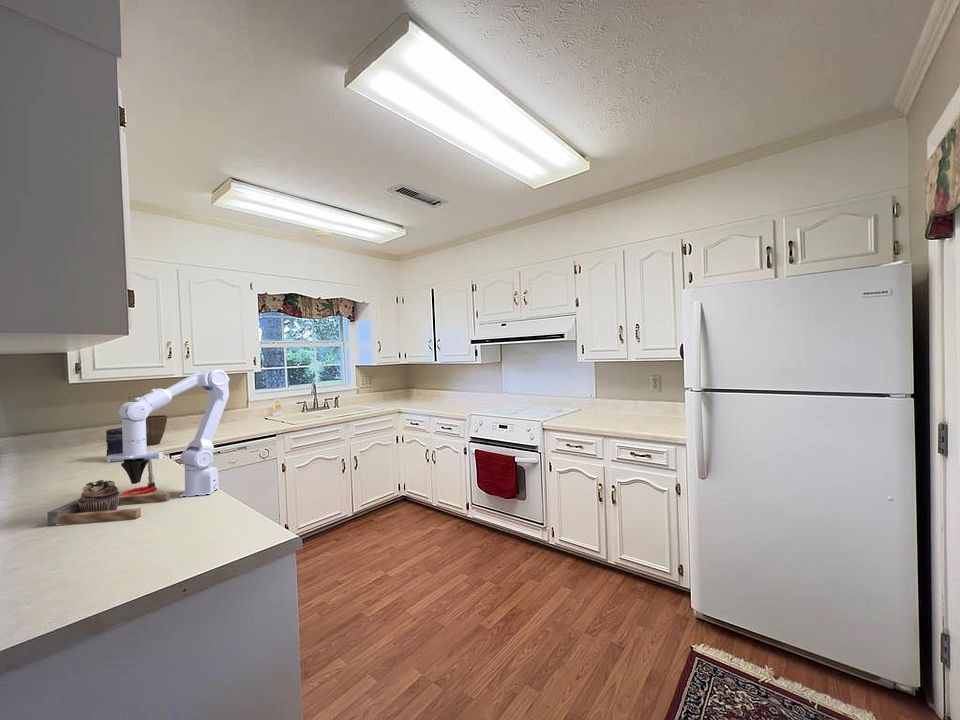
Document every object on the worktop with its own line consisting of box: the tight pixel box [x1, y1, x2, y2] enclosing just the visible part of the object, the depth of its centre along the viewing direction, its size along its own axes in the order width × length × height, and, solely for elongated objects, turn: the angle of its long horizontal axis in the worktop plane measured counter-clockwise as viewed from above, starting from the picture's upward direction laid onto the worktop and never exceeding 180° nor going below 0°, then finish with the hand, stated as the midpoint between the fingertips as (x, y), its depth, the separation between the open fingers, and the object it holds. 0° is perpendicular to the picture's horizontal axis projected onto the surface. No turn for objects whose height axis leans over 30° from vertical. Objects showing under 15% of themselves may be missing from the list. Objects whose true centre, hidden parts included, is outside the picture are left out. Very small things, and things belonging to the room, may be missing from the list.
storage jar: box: [105, 427, 123, 464], centre depth 196 cm, size 10×10×15 cm
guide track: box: [46, 491, 171, 526], centre depth 126 cm, size 22×17×4 cm
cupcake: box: [78, 479, 121, 513], centre depth 125 cm, size 10×10×10 cm
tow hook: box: [120, 459, 158, 496], centre depth 145 cm, size 8×13×9 cm
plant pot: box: [146, 414, 168, 447], centre depth 234 cm, size 15×15×16 cm
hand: (136, 482), depth 127 cm, fingers closed
